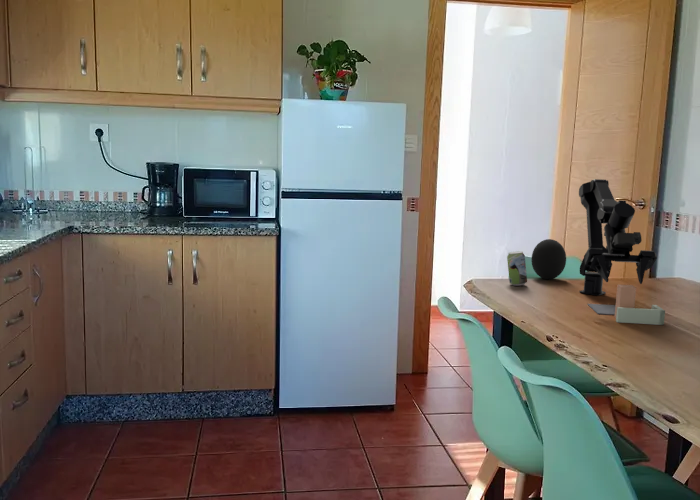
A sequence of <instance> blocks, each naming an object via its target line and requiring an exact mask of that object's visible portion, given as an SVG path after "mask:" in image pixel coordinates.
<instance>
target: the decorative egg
mask: <svg viewBox="0 0 700 500" xmlns="http://www.w3.org/2000/svg"><path fill="white" fill-rule="evenodd" d="M530 261H531V267H532V269H533V271H534V272H535V274H536V275H537V276H539V277H540V278H542V279H544V280H553V279H556V278H557V277H559V276H560V275H561V274H562V273H563V272H564V269H565V267H566V265H567V264H566V263H567V254H566V250H565V249H564V247H563V245H562V244H561V243H560V242H559V241H557V240H554V239H552V238H551V239H550V238H547V239H544V240H542V241H539V242H538V243H537V245H535V247H534V248H533V250H532V253H531V259H530Z"/></svg>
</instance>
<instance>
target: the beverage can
mask: <svg viewBox="0 0 700 500" xmlns="http://www.w3.org/2000/svg"><path fill="white" fill-rule="evenodd" d="M525 256H526V255H525V254H524V252H523V251H519V250H518V251H517V250H516V251H511V252H508V255H507V257H506V258H507V269H508V270H507V271H508V279H509V280H508V281H509V284H510V285H512V286H524V285H526V283H528V276H527V275H528V274H527V265H526V263H527V262H526V257H525Z"/></svg>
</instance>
